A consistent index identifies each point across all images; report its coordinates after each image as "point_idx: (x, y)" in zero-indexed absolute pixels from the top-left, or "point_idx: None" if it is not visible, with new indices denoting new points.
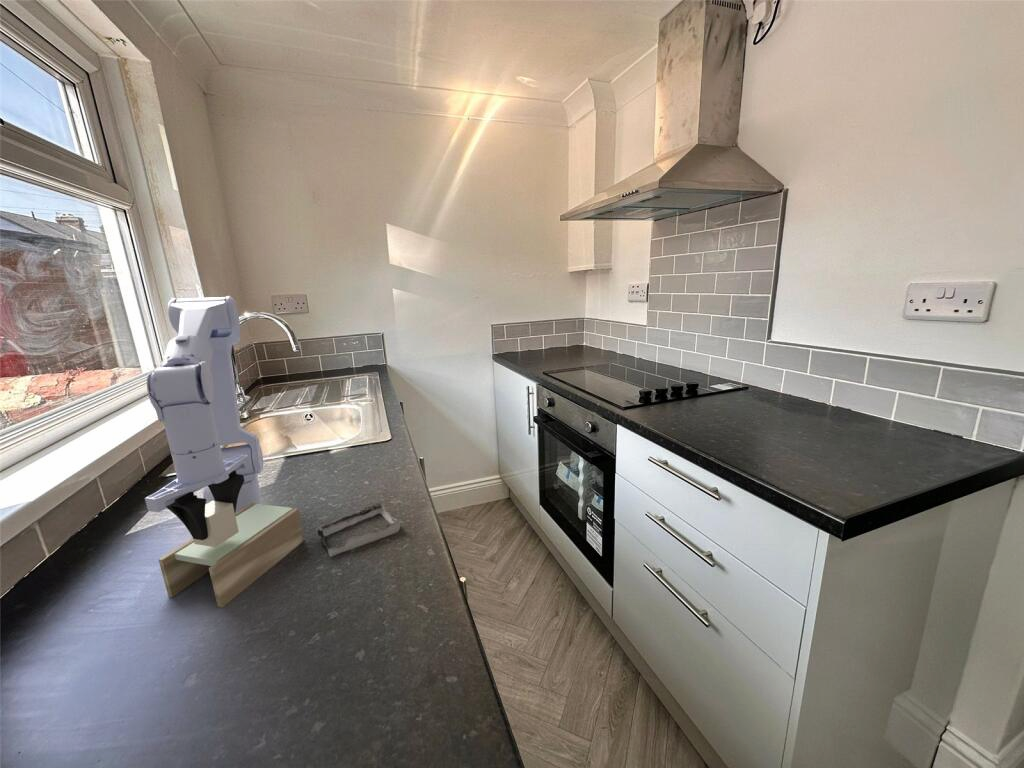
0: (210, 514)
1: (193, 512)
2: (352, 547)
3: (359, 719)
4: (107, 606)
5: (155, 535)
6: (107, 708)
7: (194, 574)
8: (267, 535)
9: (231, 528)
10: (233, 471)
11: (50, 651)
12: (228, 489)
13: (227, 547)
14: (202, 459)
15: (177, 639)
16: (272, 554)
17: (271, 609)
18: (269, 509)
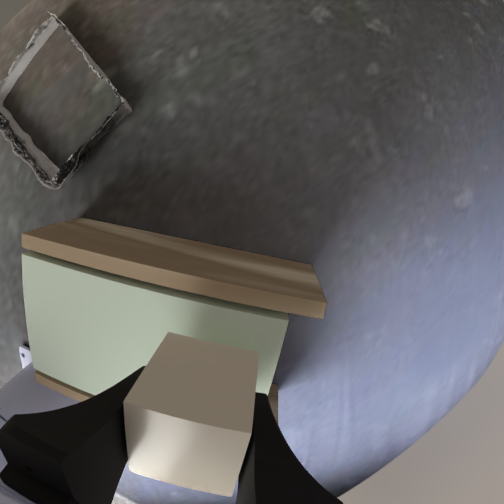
0: (225, 438)
1: (321, 486)
2: (104, 75)
3: None
4: (296, 453)
5: (134, 484)
6: (488, 289)
7: None
8: (132, 256)
9: (183, 351)
10: (7, 483)
11: (378, 445)
12: (90, 456)
13: (219, 332)
14: None
15: (388, 292)
16: (154, 241)
17: (315, 144)
18: (39, 321)
